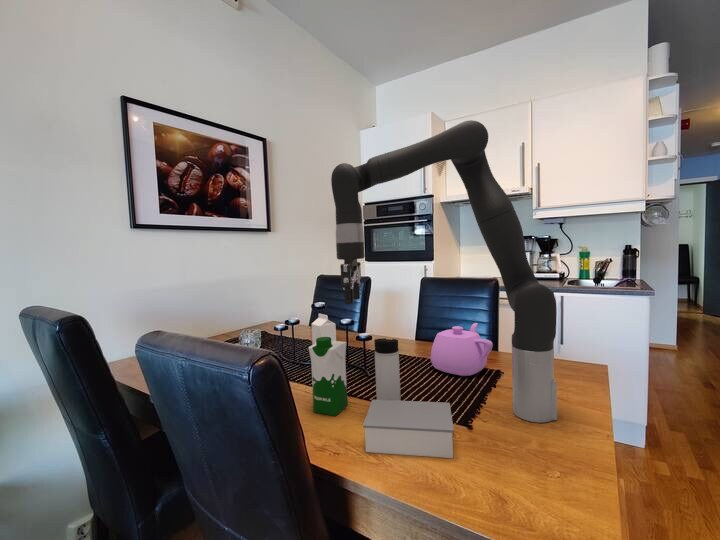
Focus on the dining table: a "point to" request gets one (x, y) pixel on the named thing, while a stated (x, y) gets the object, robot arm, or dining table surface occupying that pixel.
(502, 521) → the dining table surface
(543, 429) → the dining table surface
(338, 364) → the milk carton
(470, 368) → the teapot
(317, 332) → the milk
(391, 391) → the travel mug
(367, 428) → the box with lid
